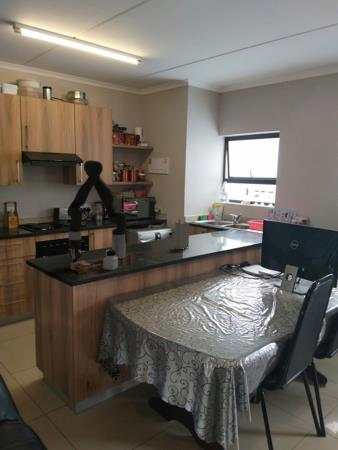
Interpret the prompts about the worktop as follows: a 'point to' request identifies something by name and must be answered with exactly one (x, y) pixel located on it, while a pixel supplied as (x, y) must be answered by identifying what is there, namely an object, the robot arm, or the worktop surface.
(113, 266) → the medicine bottle
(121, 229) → the robot arm
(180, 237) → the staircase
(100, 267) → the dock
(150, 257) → the worktop surface
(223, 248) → the worktop surface
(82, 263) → the T block
